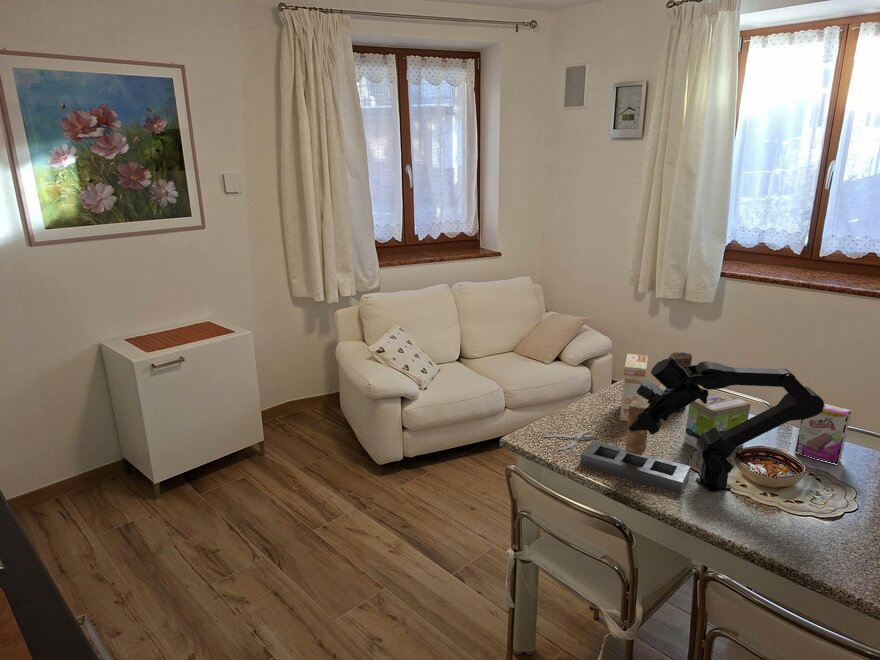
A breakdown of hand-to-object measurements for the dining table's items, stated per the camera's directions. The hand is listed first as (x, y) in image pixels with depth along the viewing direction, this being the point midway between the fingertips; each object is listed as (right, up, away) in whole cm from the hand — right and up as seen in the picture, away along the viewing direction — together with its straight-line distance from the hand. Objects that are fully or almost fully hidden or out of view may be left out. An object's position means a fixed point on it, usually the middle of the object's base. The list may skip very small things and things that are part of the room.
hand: (632, 426), depth 165 cm
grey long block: (+1, -13, +3) cm, 14 cm away
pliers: (-13, -8, +21) cm, 26 cm away
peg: (+1, -7, +1) cm, 7 cm away
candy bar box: (+58, -11, +10) cm, 60 cm away
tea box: (+31, -9, +18) cm, 37 cm away
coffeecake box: (+13, -2, +40) cm, 42 cm away
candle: (+30, -1, +45) cm, 54 cm away
